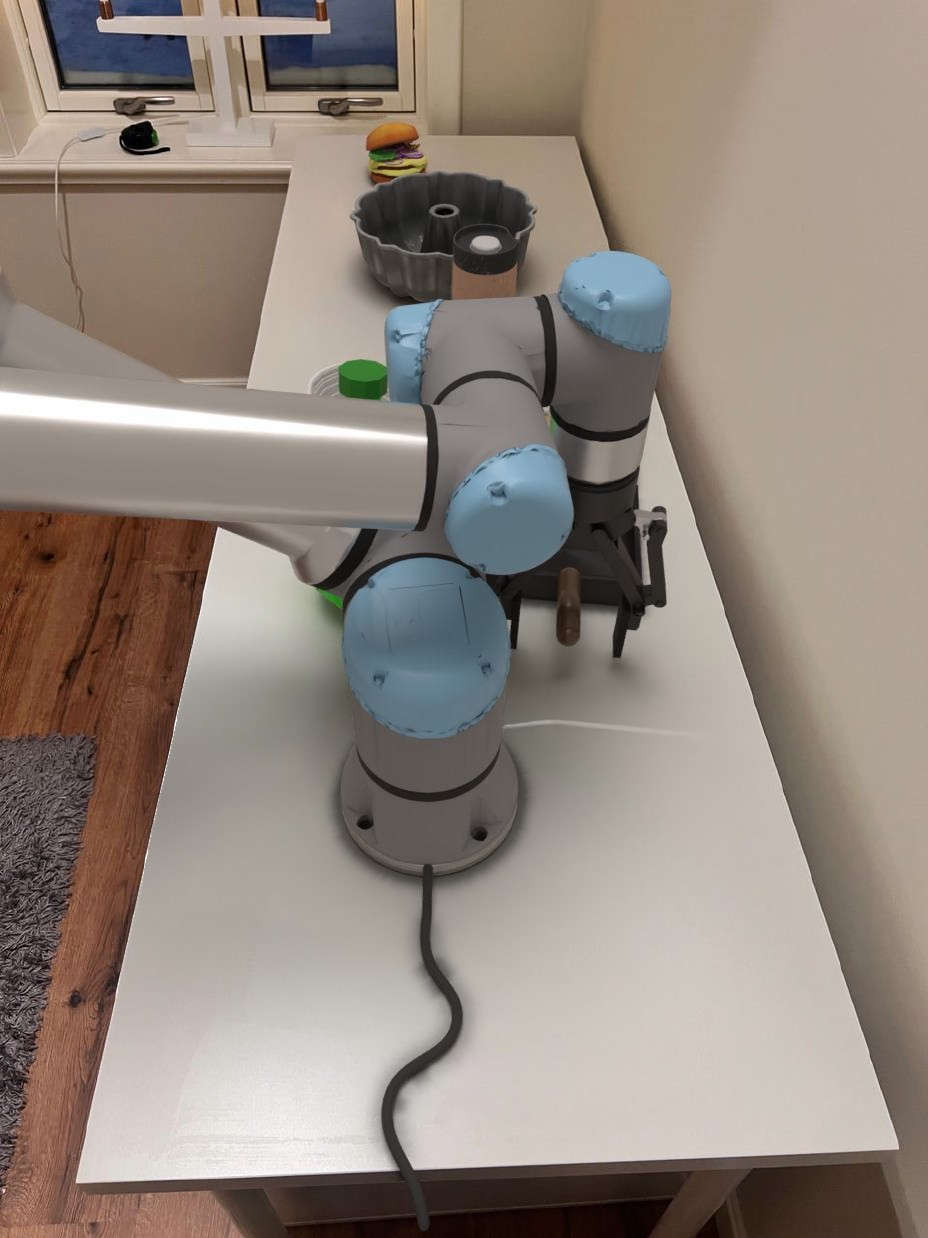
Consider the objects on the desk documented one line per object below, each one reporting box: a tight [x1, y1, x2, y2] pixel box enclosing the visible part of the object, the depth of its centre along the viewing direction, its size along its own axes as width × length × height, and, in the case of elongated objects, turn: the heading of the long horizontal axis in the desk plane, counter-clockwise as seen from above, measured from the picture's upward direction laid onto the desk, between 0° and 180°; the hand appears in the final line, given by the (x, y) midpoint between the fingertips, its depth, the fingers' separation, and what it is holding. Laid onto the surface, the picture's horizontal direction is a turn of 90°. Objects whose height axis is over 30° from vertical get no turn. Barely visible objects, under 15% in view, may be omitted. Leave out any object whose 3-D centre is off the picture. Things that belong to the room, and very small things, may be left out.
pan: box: [494, 484, 644, 647], centre depth 96 cm, size 26×15×8 cm, turn 175°
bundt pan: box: [349, 170, 538, 303], centre depth 138 cm, size 26×26×10 cm
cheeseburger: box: [365, 121, 429, 184], centre depth 161 cm, size 10×11×10 cm
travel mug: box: [452, 224, 518, 300], centre depth 115 cm, size 8×8×20 cm
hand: (564, 642), depth 91 cm, fingers open, 9 cm apart
